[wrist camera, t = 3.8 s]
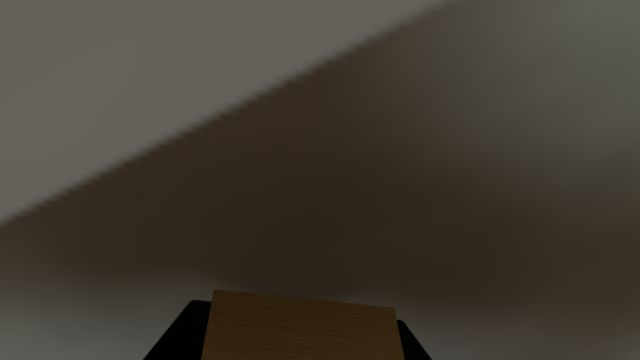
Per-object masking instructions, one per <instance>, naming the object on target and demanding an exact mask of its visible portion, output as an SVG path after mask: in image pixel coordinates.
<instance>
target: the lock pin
mask: <svg viewBox="0 0 640 360" xmlns="http://www.w3.org/2000/svg"><path fill="white" fill-rule="evenodd" d="M201 360H405V359H404V354H403V349H402V344H401V339H400V334H399V329H398V325H397V320H396V315H395V310H394V308H391V307H381V306H371V305H361V304H351V303H342V302H332V301H322V300H312V299H302V298H292V297H282V296H272V295H262V294H253V293H243V292H233V291H223V290H214V292H213V298H212V303H211V309H210V314H209V319H208V325H207V330H206V336H205V341H204V346H203V352H202V357H201Z"/></svg>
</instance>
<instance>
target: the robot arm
mask: <svg viewBox="0 0 640 360" xmlns="http://www.w3.org/2000/svg"><path fill="white" fill-rule="evenodd" d="M211 303H212V302H211V301H201V300H192V301H190V302H189V303H188V304H187V306H186V307H185V308H184V309H183V311H182V312H181V313H180V314H179V316H178V317H177V318H176V319H175V321H174V322H173V323H172V324H171V325H170V327H169V328H168V329H167V330H166V332H165V333H164V334H163V335H162V337H161V338H160V339H159V340H158V342H157V343H156V344H155V345H154V346H153V348H152V349H151V350H150V351H149V353H148V354H147V355H146V356H145V358H144V359H143V360H201V357H202V352H203V346H204V341H205V336H206V330H207V325H208V319H209V314H210V309H211ZM396 320H397V325H398V329H399V334H400V339H401V344H402V349H403V354H404V359H405V360H432V359H431V358H430V356H429V355H428V354H427V352H426V351H425V350H424V348H423V347H422V346H421V344H420V343H419V342H418V340H417V339H416V338H415V336H414V335H413V334H412V332H411V331H410V330H409V328H408V327H407V326H406V324H405V323H404V322H403V321H401V320H398V319H396Z"/></svg>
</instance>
